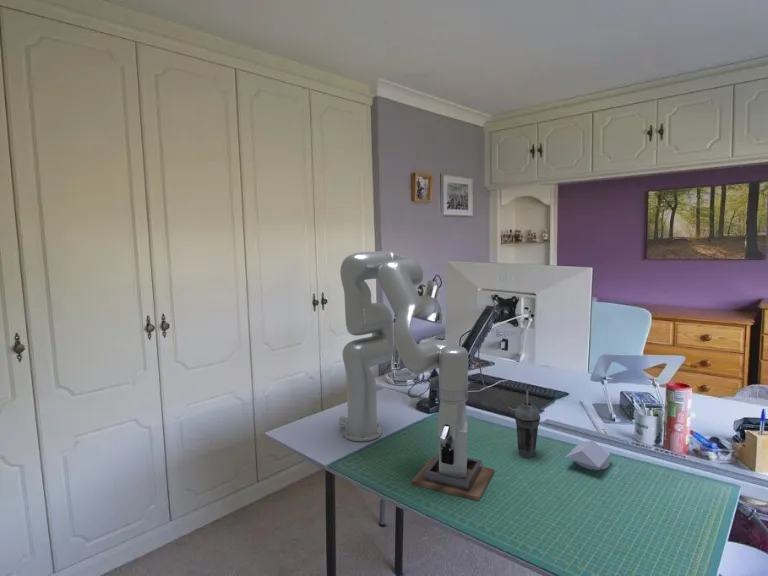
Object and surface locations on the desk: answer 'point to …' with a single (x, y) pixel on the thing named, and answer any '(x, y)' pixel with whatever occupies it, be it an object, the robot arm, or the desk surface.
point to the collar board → (455, 479)
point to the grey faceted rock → (590, 455)
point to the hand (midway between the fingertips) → (453, 455)
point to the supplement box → (456, 455)
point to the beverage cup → (527, 428)
